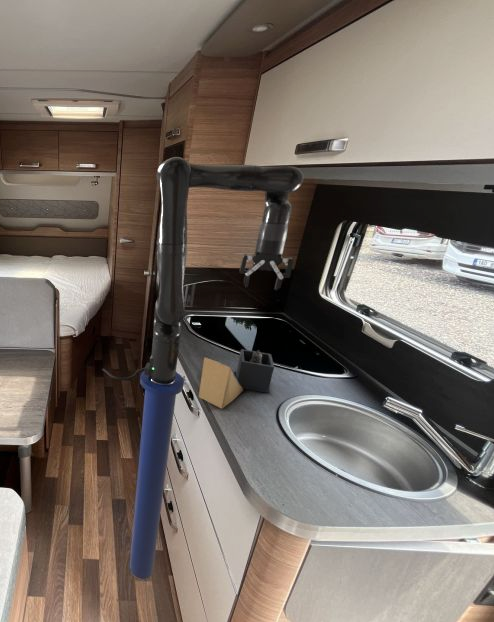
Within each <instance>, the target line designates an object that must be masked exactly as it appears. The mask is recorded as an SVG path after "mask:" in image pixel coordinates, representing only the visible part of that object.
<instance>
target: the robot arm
mask: <svg viewBox="0 0 494 622" xmlns="http://www.w3.org/2000/svg"><path fill="white" fill-rule="evenodd" d="M155 177H156V182H157V184H158V186H159V189H160V201H161V203H160V205H161V208H160V209H161V211H160V216H159V222H158V227H157V235H156V263H157V264H156V265H157V271H158V278H159V279H158V280H159V294H158V297H157V299H156V302H155V305H154V306H155V307H154V319H153V335H152V336H153V337H152V345H151V355H150V357H149V362H146V364H145V367H143V368H139V369H137V370H136V371H135V372H134V374H131V376H128V377H120V376H119V377H118V376H114V375H113V374H112V373H110V372H109V371H108V370H107V369H105V368H102V371H103V372H105V373H106V374H107V375H108V376H109V377H110V378H112V379H113V380H118V381H128V380H131V379H133V378H135V377H137V375H138V373H140V372H143V371H144V370H145V371H144V375H148V380H150V381H152V382H153V383H155V384H157V385H162V386H168V385H172V384H173V383H174V382H175V376H176V373H178V372H177V366H178V358H179V351H180V342H181V335H182V332H181V331H182V329H181V327H182V320H183V318H184V317H185V313H186V307H185V297H184V295H185V294H184V281H185V274H186V272H185V271H186V267H187V266H186V264H187V256H188V211H187V210H188V200H189V192H190V188H207V189H216V190H224V191H225V190H226V191H235V192H264V209H263V215H262V219H261V224H260V227H259V231H258V235H257V240H256V245H255V250H254V254H253V255H250V254H247V253H244V254H243V255H242V259H241V263H240V267H239V274H241V275H243V276H244V277H243V286H245V288H249V283H250V279H251V275H252V274H253V273H254V272H256V271H257V270H259V271H266V272H267V271H268V272H271V271H274V272H275V275H276V276H277V277H276V279H275V283H274V288H273V289H274V290H275V291H278V290H279V289H281V288H282V284H283V280H284V279H289V278H291V276H292V270H293V263H294V259H293V258H292V257H290V256H289V257H283V253H284V248H285V244H286V240H287V237H288V229H289V223H290V219H291V218H290V217H291V214H292V204H291V203H290V201H289V196H290V193H293V192H295V191H296V190H298V189H299V188H300V187H301V185H302V184H303V182H304V173H303V171H301V169H300V168H298V167H296V166H292V165H291V166H263V165H256V164H255V165H253V164H218V165H217V164H216V165H213V164H211V165H209V164H197V163H196V164H195V163H191V162H188V161H187V160H186V159H185V158H183V157H180V156H173V157H170V158H168V159H166V160H164V161H163V162H161V164H160V165H159V166H158V168H157V170H156V175H155ZM251 260H252V262H253V264H252V265H250V267H249V268H247V269H246V266H247V263H249V262H250V261H251ZM282 263H283V264H284V266H285V271H284V273H282V272H281V271H280V269H279V267H278V266H280V265H281V264H282Z"/></svg>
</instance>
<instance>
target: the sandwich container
mask: <svg viewBox="0 0 494 622" xmlns="http://www.w3.org/2000/svg"><path fill="white" fill-rule="evenodd" d="M200 377H201V378H200V385H199V390H198V391H199V392H198V398H200V399H202V400H203V401H205V402H207V403H209V404H211V405H213V406H215V407H218V408H219V409H222V410H223V409H224V408H225V407H226V406H228V405H229V404H230V403H231V402H233V401H234V400H235V399H236V398H237V397H238V396H239V395H240V394H241V393H242V392H244V388H242V387H241V385H240V384H239V382H238V380H237V379H236V375H235V374H234V372H233V370H232V368H231V367H230V366H228V365H226V364H223V363H221V362H219V361H217V360H214V359H211V358H209V357H204V358H203V366H202V370H201V376H200Z"/></svg>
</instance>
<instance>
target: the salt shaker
mask: <svg viewBox="0 0 494 622" xmlns="http://www.w3.org/2000/svg"><path fill="white" fill-rule="evenodd" d="M260 352H261V351H260V350H259V349H257V351H255V352H254V353H253V355H252V359H251V360H250V362H253V363H258V364H262V362H261V358H262V354H261V353H262V352H261V353H260Z"/></svg>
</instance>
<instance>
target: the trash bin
mask: <svg viewBox="0 0 494 622" xmlns="http://www.w3.org/2000/svg"><path fill="white" fill-rule="evenodd" d="M254 352H256V351H255V350H249V349H243V348H241V349H240V352H239V358H238V362H237V366H236V372H235V377H236V379H237V380H238V382H239V384H240V385H241V387H242V388H243V389H246V390H251V391H256V392H261V393H266V394H268V393H269V390H270V385H271V382H272V378H273V374H274V370H275V365H274V361H273V357H272V354H271V353H266V352H261V351H259V352H260V353H261V354H262V358H261V362H262V364H258V363H253V362H250V360H251V359H252V355H253V353H254Z"/></svg>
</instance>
